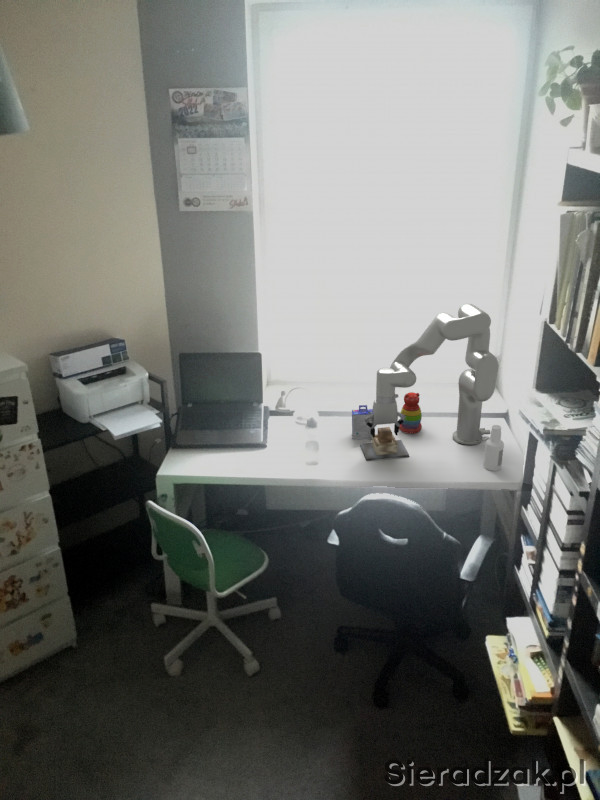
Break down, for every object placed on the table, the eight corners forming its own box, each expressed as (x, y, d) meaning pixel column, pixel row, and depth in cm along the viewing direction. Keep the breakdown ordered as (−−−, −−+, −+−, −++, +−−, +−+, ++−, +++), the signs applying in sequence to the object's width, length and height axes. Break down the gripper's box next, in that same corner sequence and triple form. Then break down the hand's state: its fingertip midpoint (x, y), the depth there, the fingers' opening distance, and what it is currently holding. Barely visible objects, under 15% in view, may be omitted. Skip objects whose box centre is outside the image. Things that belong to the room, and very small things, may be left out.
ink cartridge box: (373, 433, 286) (374, 403, 279) (375, 439, 281) (375, 409, 274) (351, 433, 286) (351, 404, 280) (352, 439, 281) (352, 410, 275)
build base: (400, 441, 277) (401, 429, 275) (409, 456, 266) (409, 444, 263) (360, 445, 276) (360, 433, 273) (366, 460, 264) (366, 448, 261)
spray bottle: (504, 469, 254) (509, 429, 247) (489, 472, 253) (493, 432, 245) (495, 461, 260) (499, 421, 253) (480, 463, 259) (484, 424, 251)
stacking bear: (420, 423, 293) (421, 387, 285) (424, 433, 283) (426, 397, 276) (396, 424, 293) (397, 388, 285) (400, 434, 283) (401, 398, 276)
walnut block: (389, 437, 271) (389, 427, 269) (391, 443, 266) (392, 432, 264) (377, 438, 271) (377, 428, 268) (380, 444, 266) (380, 433, 264)
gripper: (403, 392, 264) (402, 429, 271) (362, 395, 263) (362, 432, 270) (408, 400, 257) (407, 437, 265) (366, 403, 256) (366, 441, 263)
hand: (384, 434), depth 267 cm, fingers open, 9 cm apart
